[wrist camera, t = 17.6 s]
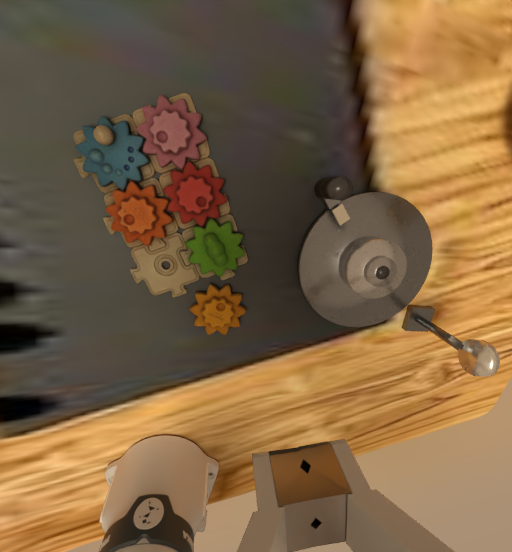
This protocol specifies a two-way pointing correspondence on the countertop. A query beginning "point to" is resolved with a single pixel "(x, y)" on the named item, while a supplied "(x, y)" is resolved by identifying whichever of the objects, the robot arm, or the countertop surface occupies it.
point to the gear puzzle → (167, 203)
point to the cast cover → (372, 266)
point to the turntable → (346, 228)
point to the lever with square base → (455, 342)
